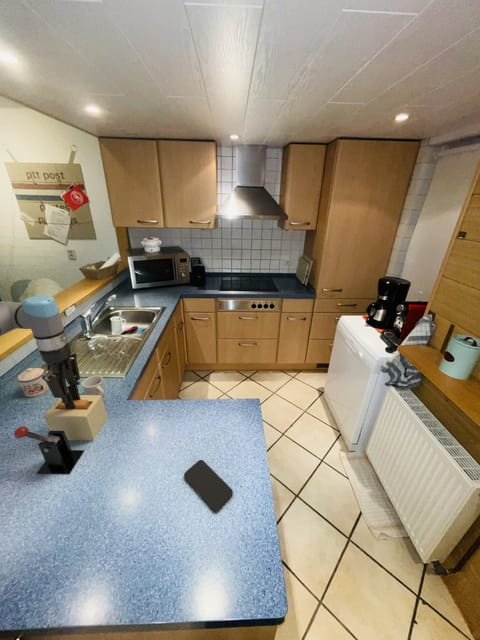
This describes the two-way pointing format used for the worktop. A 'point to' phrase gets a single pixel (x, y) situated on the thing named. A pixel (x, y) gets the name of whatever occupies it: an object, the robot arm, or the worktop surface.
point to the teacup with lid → (33, 382)
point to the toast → (76, 405)
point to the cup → (94, 385)
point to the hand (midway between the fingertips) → (73, 404)
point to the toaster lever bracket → (58, 455)
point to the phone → (208, 485)
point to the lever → (35, 435)
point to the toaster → (78, 419)
